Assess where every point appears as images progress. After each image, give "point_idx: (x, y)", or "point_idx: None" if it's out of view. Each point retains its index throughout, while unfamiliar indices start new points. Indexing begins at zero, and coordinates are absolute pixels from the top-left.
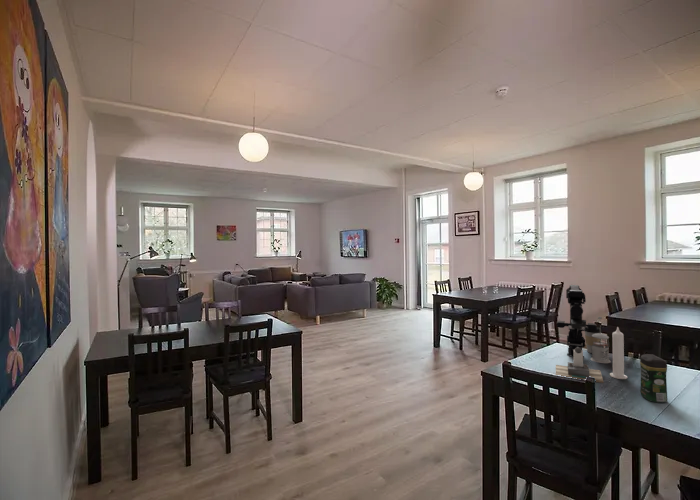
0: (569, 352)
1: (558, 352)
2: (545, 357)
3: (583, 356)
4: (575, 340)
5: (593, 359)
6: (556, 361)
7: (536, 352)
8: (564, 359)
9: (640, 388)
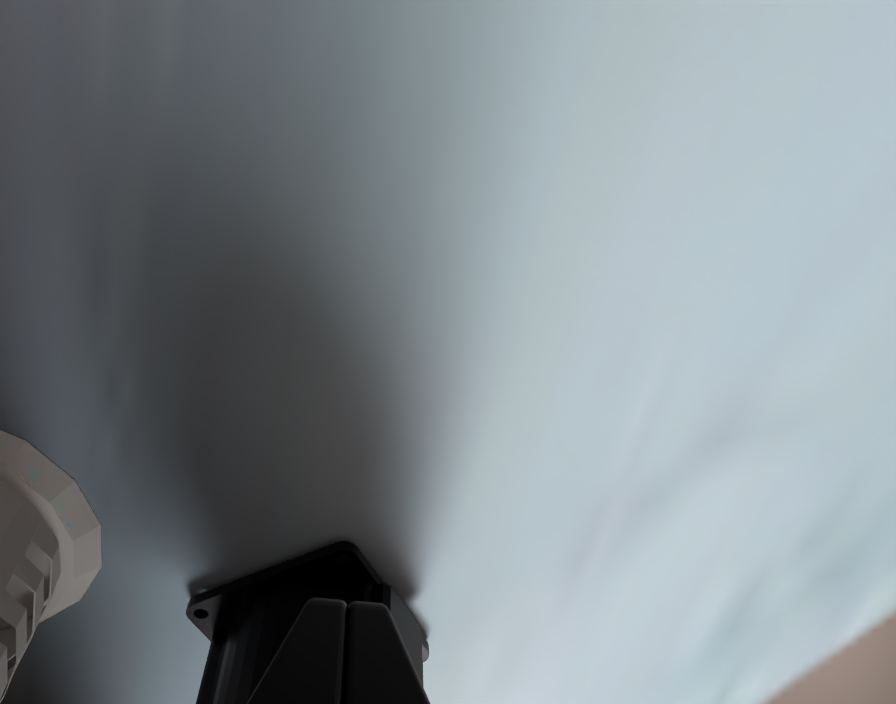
0: (407, 644)
1: (522, 699)
2: (822, 451)
3: (198, 603)
4: (390, 621)
5: (44, 501)
6: (719, 282)
7: (848, 632)
8: (530, 429)
9: None
